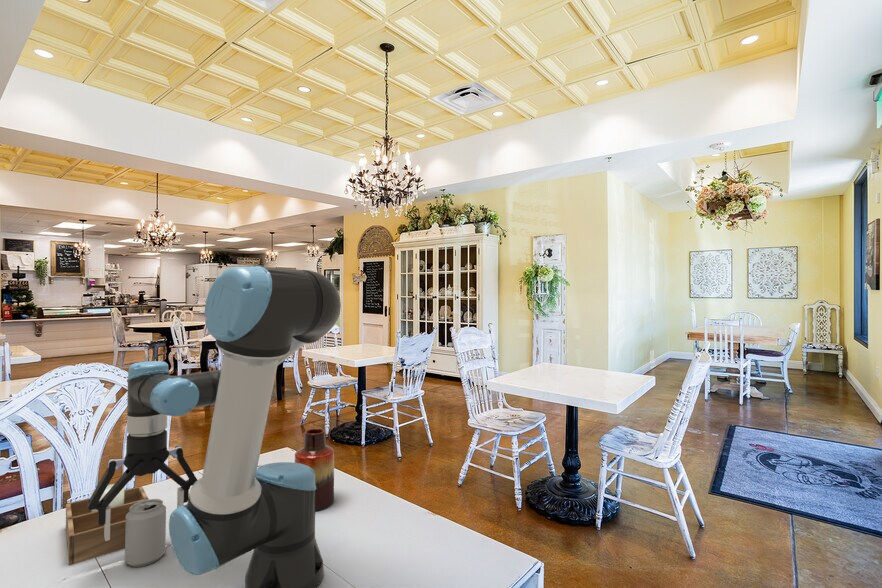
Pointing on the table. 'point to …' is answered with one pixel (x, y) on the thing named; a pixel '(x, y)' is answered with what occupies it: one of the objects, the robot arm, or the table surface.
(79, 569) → the table surface
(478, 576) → the table surface
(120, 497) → the pale curved piece
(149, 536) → the can
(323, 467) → the vase
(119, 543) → the rack
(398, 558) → the table surface
